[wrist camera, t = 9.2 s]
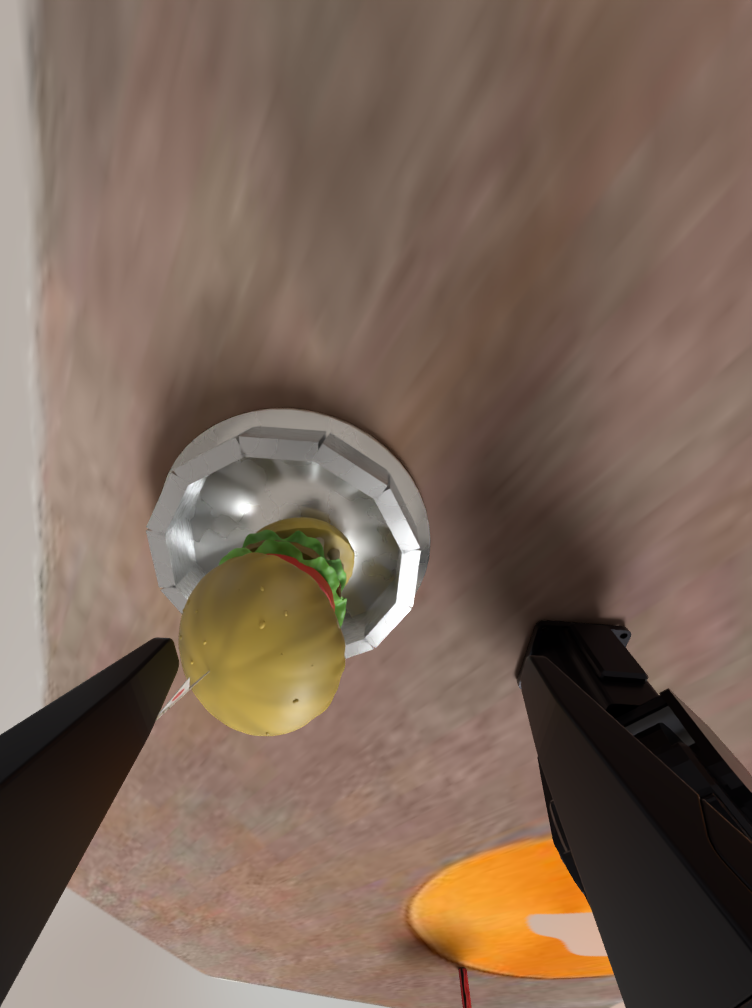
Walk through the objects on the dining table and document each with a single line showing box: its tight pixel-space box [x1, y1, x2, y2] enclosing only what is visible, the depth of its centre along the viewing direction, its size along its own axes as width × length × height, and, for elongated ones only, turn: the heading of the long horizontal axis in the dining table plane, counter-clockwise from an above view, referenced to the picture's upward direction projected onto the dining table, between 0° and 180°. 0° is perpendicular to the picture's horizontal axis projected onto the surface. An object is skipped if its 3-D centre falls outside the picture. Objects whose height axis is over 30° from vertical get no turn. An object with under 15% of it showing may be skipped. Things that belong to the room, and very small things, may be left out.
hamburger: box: [156, 517, 355, 736], centre depth 16 cm, size 8×7×12 cm
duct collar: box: [146, 408, 430, 659], centre depth 21 cm, size 17×17×3 cm
